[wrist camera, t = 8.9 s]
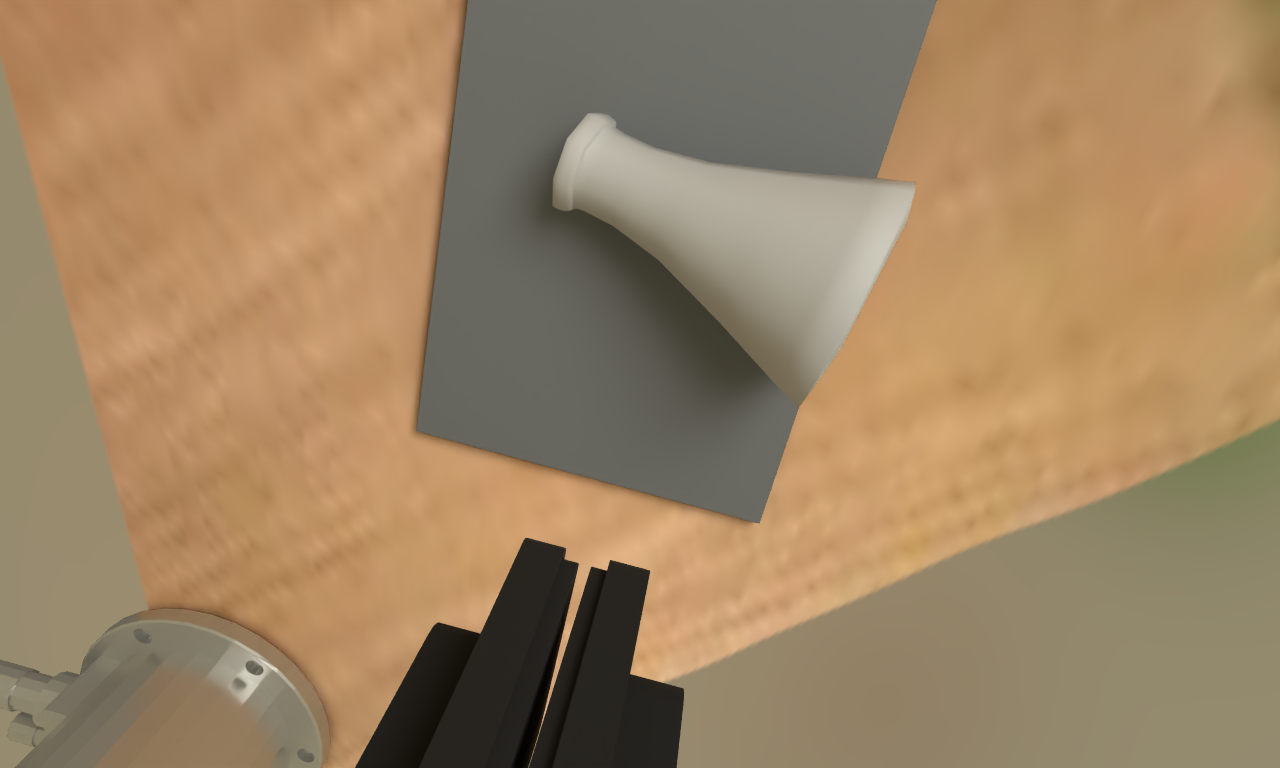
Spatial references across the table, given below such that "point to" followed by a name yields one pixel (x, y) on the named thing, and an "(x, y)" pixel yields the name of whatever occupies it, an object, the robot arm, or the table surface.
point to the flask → (745, 240)
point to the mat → (610, 261)
